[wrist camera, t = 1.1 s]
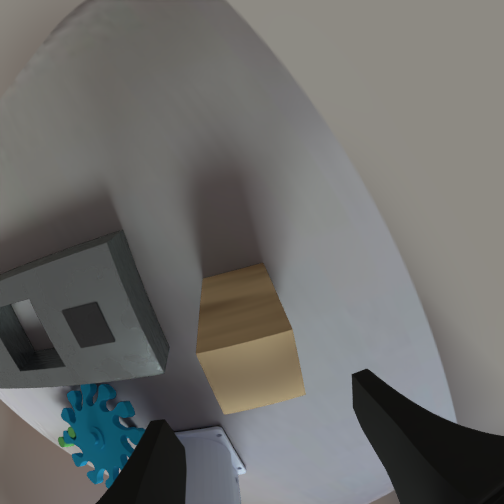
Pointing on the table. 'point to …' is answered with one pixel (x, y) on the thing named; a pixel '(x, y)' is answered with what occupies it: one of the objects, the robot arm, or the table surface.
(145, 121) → the table surface
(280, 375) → the peg
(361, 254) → the table surface
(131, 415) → the gear
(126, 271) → the grey holed base
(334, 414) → the table surface
